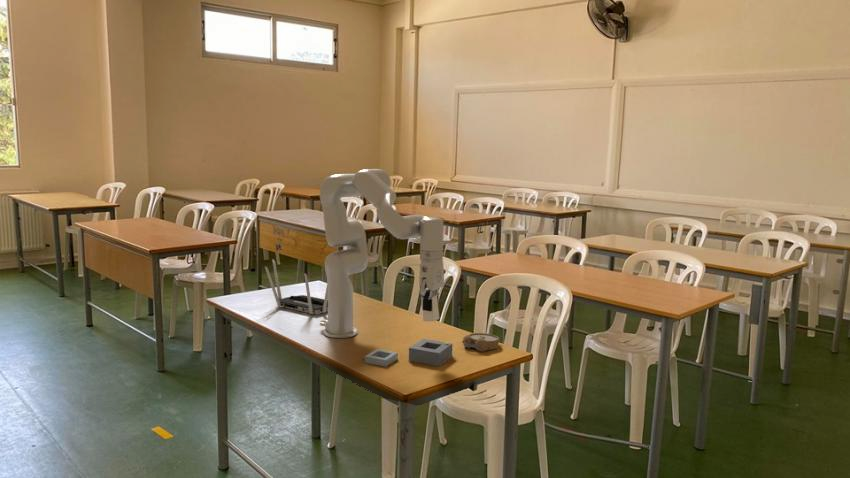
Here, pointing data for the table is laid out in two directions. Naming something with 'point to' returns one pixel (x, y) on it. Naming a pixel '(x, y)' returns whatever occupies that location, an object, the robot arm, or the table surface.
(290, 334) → the table surface
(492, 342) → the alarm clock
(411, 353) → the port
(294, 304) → the wireless router
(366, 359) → the light grey square frame
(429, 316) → the plug
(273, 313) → the table surface
